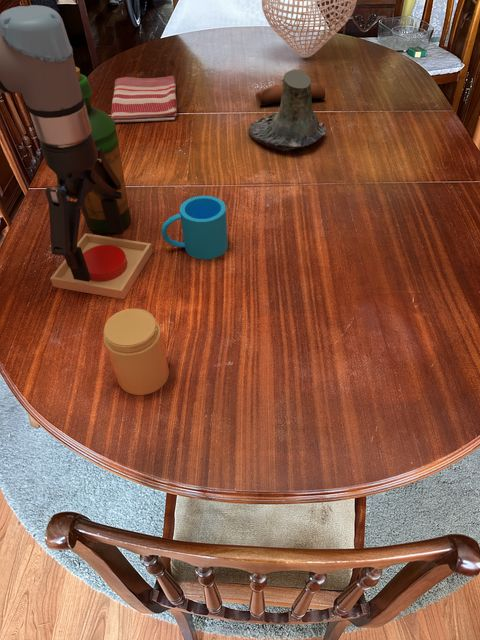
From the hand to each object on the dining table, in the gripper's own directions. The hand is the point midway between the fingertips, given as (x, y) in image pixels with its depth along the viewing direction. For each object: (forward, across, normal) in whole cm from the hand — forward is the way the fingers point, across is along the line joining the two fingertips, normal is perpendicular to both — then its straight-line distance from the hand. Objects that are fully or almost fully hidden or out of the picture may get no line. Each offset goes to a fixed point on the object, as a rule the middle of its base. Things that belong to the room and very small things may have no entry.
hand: (100, 254), depth 89 cm
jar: (+3, +21, +16) cm, 27 cm away
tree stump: (+3, -57, +22) cm, 61 cm away
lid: (+1, 0, 0) cm, 1 cm away
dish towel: (+3, -66, -19) cm, 69 cm away
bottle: (+3, -13, -5) cm, 14 cm away
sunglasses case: (+3, -78, +18) cm, 80 cm away
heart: (+3, -109, +17) cm, 110 cm away
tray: (+3, 0, 0) cm, 3 cm away
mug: (+3, -10, +14) cm, 18 cm away
